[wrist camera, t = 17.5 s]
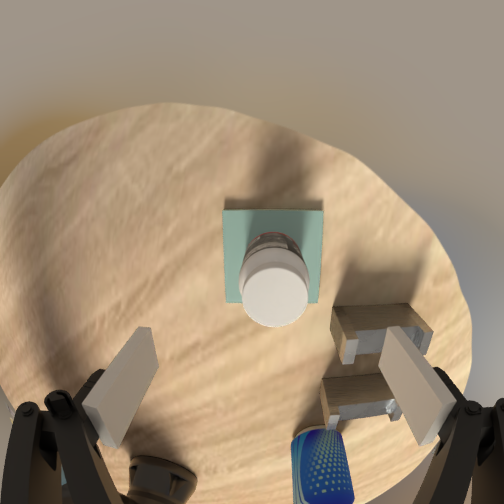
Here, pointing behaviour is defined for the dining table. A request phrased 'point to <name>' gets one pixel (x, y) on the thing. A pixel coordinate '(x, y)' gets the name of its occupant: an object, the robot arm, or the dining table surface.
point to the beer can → (320, 468)
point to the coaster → (271, 220)
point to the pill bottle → (274, 280)
